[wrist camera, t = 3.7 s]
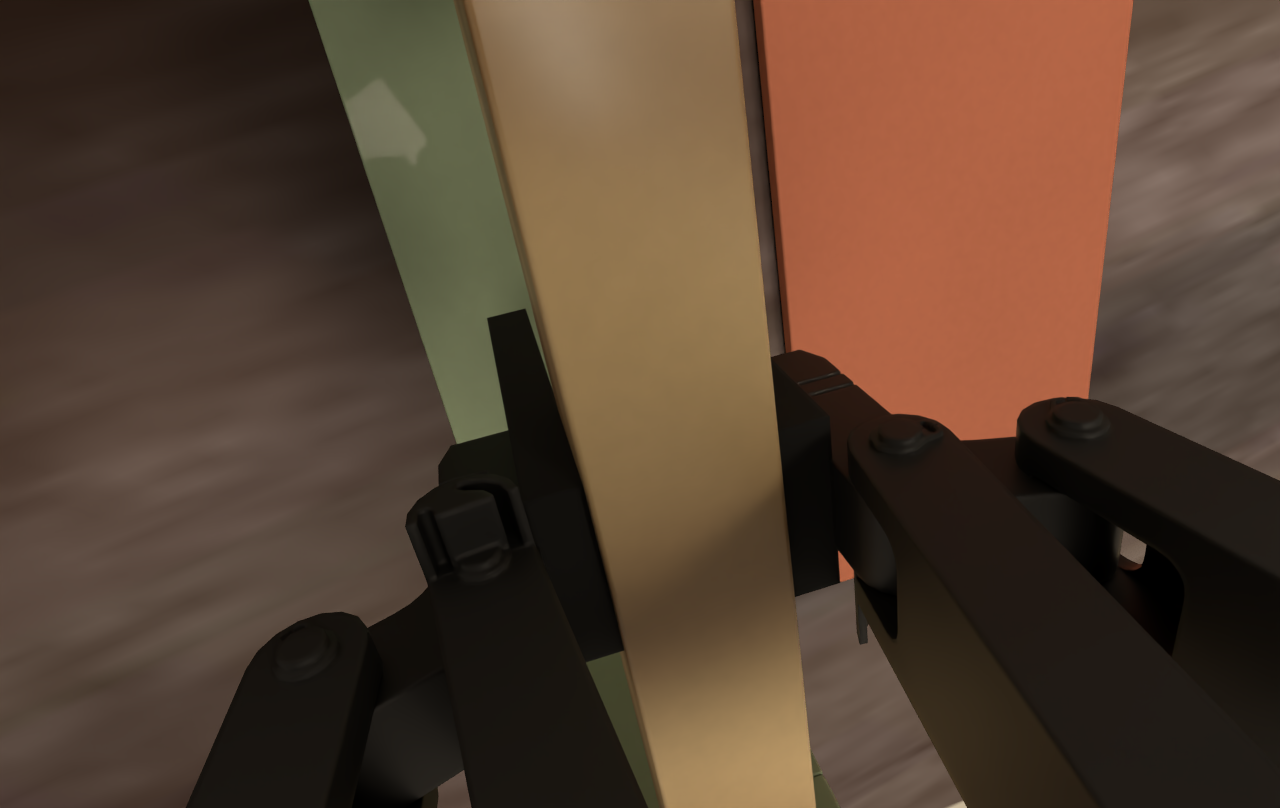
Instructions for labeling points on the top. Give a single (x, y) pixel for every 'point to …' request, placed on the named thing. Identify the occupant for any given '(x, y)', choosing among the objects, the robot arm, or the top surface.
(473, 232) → the rack
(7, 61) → the top surface
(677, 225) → the hanger bar
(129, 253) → the top surface
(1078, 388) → the mat
